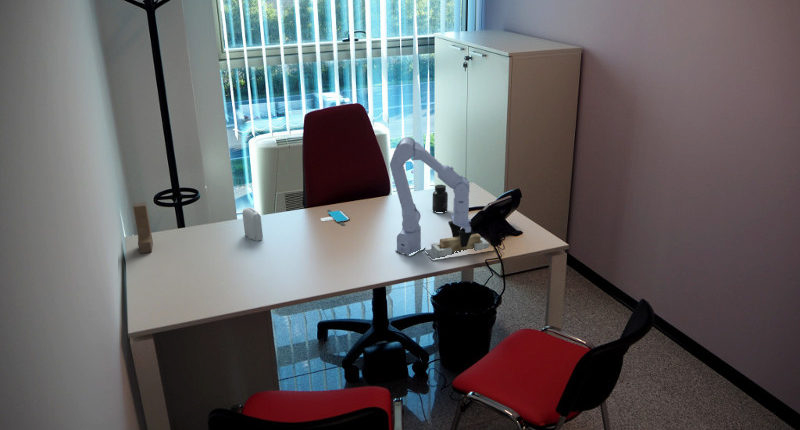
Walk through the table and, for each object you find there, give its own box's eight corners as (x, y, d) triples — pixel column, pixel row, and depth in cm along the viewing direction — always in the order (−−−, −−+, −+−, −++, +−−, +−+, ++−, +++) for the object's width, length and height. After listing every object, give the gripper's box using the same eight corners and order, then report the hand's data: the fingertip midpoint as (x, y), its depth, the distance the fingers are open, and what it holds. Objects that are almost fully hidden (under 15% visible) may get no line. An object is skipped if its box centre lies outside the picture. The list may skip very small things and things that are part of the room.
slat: (442, 253, 244) (442, 241, 242) (439, 251, 246) (439, 239, 244) (480, 247, 249) (480, 235, 247) (477, 245, 251) (477, 233, 249)
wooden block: (151, 252, 250) (144, 209, 243) (139, 254, 249) (131, 211, 242) (153, 243, 258) (146, 201, 251) (141, 244, 257) (133, 203, 250)
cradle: (432, 261, 241) (432, 252, 239) (424, 252, 248) (424, 244, 246) (494, 250, 248) (495, 242, 247) (485, 242, 255) (485, 234, 254)
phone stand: (314, 213, 288) (314, 210, 287) (339, 209, 292) (339, 206, 292) (329, 229, 271) (328, 225, 270) (355, 224, 276) (355, 221, 275)
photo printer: (243, 234, 266) (240, 206, 261) (252, 231, 268) (249, 204, 264) (255, 242, 258) (252, 213, 254) (264, 239, 261) (261, 211, 256)
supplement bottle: (447, 214, 284) (448, 188, 280) (432, 214, 285) (432, 188, 280) (447, 208, 291) (447, 183, 286) (432, 208, 291) (432, 183, 287)
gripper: (478, 215, 236) (477, 248, 241) (462, 202, 249) (461, 234, 254) (461, 217, 234) (460, 251, 239) (446, 204, 247) (445, 236, 252)
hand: (460, 242), depth 247 cm, fingers open, 7 cm apart
